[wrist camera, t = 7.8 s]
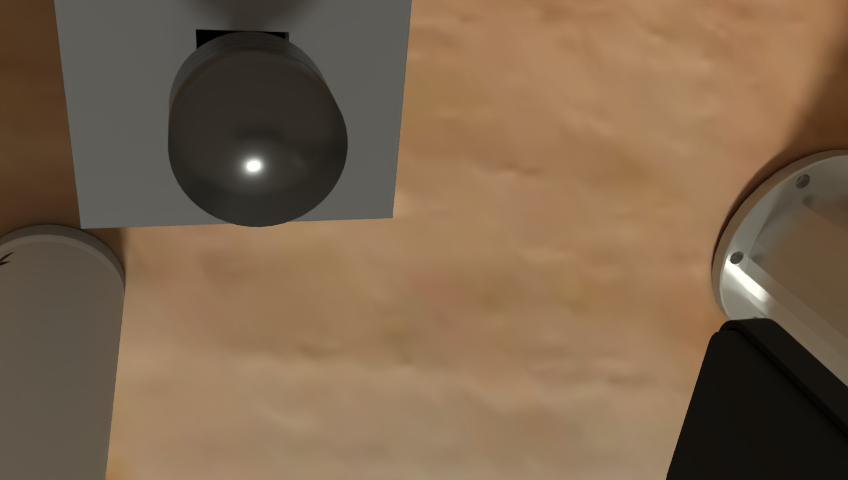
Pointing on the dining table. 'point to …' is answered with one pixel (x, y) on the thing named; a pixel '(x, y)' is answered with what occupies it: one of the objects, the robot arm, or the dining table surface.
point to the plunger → (254, 129)
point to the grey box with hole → (154, 74)
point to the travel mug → (57, 353)
